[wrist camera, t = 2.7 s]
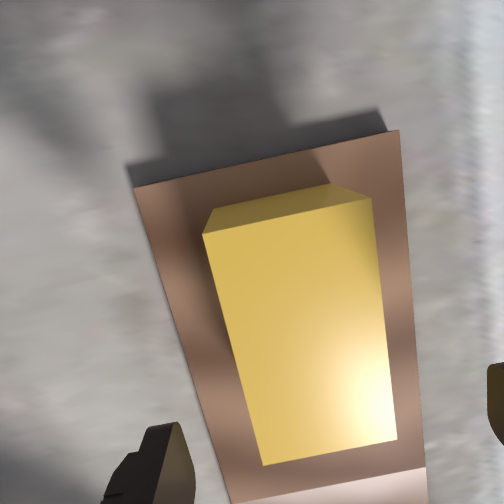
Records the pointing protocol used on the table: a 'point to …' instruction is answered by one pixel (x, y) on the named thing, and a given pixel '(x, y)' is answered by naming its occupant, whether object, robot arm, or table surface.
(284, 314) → the yellow rectangular block
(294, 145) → the table surface
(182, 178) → the board
